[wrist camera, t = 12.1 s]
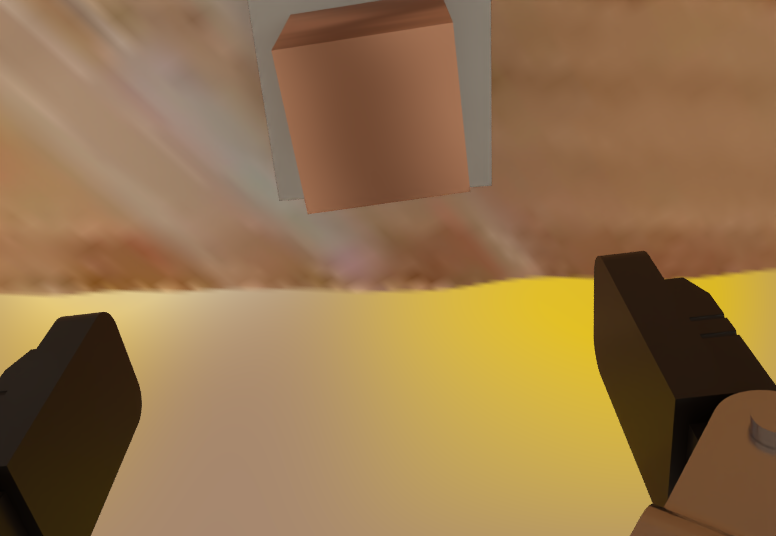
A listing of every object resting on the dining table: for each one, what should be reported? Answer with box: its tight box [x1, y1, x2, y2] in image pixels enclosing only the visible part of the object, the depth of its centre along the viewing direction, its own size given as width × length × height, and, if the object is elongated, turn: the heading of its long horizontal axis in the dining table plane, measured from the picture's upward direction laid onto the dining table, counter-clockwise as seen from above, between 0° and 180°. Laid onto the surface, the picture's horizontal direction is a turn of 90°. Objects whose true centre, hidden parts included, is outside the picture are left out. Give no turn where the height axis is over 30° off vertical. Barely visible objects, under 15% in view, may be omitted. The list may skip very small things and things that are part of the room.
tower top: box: [248, 0, 492, 201], centre depth 28 cm, size 8×8×5 cm
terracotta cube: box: [271, 0, 470, 214], centre depth 24 cm, size 5×5×5 cm
